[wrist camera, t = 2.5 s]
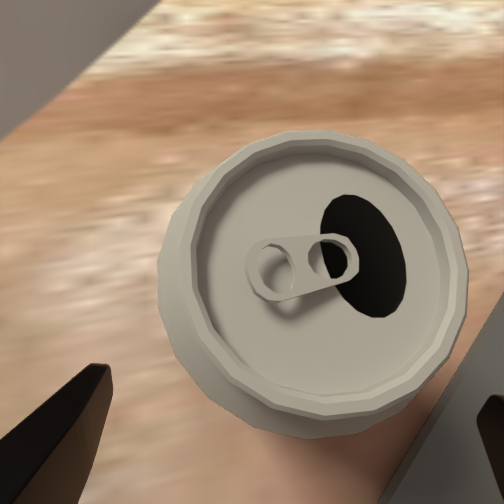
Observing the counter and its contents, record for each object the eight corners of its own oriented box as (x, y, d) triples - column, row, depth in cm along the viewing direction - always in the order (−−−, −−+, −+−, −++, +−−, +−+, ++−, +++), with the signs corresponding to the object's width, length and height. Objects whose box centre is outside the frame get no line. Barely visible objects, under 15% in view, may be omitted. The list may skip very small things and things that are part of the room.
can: (353, 369, 18) (572, 397, 7) (209, 409, 17) (180, 521, 6) (312, 233, 20) (429, 75, 9) (179, 262, 19) (112, 127, 8)
